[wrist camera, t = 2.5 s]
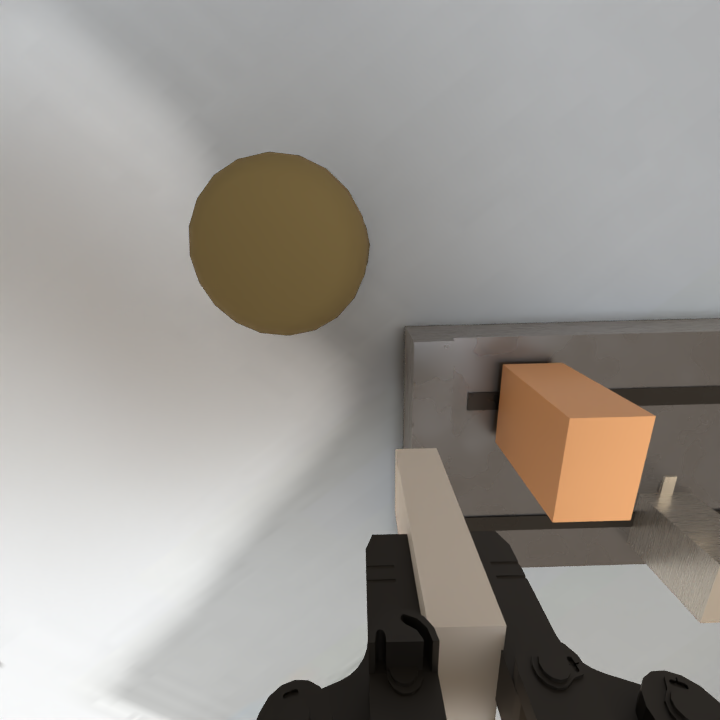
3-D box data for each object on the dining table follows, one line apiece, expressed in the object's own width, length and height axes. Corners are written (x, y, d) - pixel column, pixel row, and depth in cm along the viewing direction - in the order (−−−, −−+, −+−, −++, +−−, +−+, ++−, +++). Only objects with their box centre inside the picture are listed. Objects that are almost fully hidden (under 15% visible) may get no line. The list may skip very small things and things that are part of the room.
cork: (319, 160, 19) (275, 52, 8) (391, 256, 20) (432, 268, 10) (235, 238, 20) (99, 232, 9) (309, 324, 21) (265, 402, 11)
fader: (502, 364, 18) (569, 418, 13) (562, 362, 18) (655, 416, 13) (495, 441, 20) (552, 522, 14) (550, 440, 20) (630, 520, 14)
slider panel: (404, 326, 21) (432, 372, 14) (847, 315, 21) (1118, 353, 14) (401, 534, 26) (421, 656, 18) (767, 524, 26) (938, 640, 18)
